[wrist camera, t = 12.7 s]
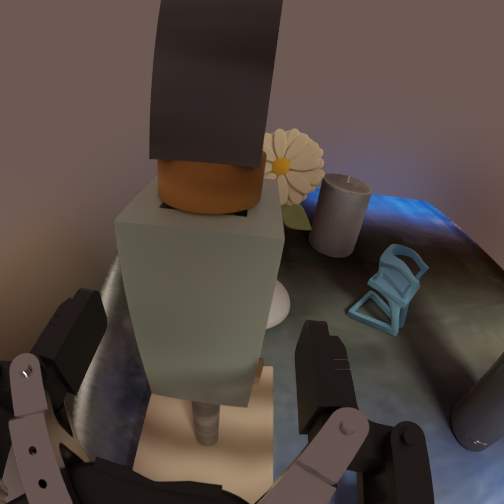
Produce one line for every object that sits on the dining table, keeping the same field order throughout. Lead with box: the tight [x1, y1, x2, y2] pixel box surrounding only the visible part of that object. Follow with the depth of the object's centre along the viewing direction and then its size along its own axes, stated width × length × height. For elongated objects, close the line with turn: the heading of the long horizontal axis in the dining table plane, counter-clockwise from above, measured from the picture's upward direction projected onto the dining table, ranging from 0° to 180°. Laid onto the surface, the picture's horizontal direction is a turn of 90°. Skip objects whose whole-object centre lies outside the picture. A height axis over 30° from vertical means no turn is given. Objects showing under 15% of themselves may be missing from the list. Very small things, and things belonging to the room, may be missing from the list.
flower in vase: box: [263, 128, 325, 329], centre depth 34 cm, size 13×11×25 cm
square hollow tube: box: [114, 174, 285, 408], centre depth 13 cm, size 5×5×10 cm
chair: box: [347, 244, 429, 336], centre depth 38 cm, size 8×8×12 cm
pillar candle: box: [308, 174, 372, 258], centre depth 55 cm, size 10×10×15 cm
